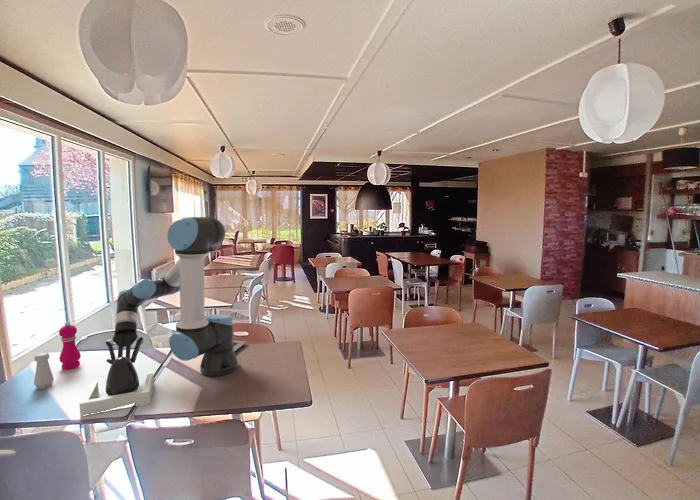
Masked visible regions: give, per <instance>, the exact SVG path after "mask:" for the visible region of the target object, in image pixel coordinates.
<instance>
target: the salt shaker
mask: <svg viewBox="0 0 700 500" xmlns="http://www.w3.org/2000/svg"><path fill="white" fill-rule="evenodd" d="M49 359H50V354H49V352H41V353H37V354H36V355H34V361H35V362H36V368H35V374H34V380H33V381H34V383H33V384H34V386H35V388H37V390H44V389H48V388H50V387H51V386H53V383H54V375H53V373H52V368H51V365H50V363H49Z"/></svg>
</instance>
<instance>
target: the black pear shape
mask: <svg viewBox="0 0 700 500" xmlns="http://www.w3.org/2000/svg"><path fill="white" fill-rule="evenodd" d="M115 359H116V360H115V361H113V360H111V358H106V362H107V363H108V364H110V367H109V369H108V370H109V371H108V372H107V376H106V377H107V378H106V383H105V393H106V395H107V396H113V395H119V394H125V393H131V392H136V391H139V387H140V380H139V379H140V378H139V376H138V372H137V369H136V367H135V366H134V364H133V363H132V362H131V361H130V360H129V359H128V358H126V356H123V357H119V358H118V357H117V358H115Z"/></svg>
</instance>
